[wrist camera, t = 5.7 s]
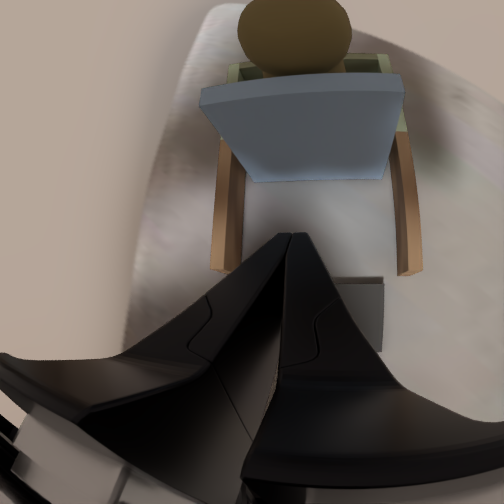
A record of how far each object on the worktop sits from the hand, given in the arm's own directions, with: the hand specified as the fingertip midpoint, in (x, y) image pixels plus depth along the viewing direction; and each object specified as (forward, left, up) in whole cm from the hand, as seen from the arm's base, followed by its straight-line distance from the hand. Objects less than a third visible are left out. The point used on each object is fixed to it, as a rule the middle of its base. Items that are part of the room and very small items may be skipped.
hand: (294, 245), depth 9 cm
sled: (+10, 0, -10) cm, 14 cm away
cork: (+10, 0, -10) cm, 14 cm away
